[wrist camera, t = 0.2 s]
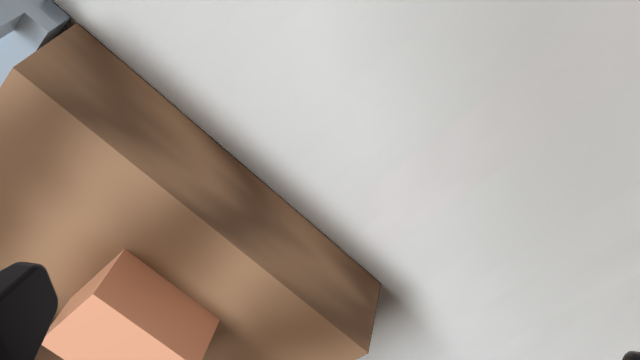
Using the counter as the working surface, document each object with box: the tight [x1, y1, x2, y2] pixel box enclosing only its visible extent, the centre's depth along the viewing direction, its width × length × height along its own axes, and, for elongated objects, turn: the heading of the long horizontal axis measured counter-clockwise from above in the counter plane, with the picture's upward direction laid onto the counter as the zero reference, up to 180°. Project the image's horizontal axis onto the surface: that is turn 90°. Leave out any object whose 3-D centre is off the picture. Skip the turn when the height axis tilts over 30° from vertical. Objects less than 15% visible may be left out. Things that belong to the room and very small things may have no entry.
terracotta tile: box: [42, 249, 220, 360], centre depth 25 cm, size 5×5×2 cm
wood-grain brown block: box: [0, 23, 381, 360], centre depth 29 cm, size 17×20×4 cm
